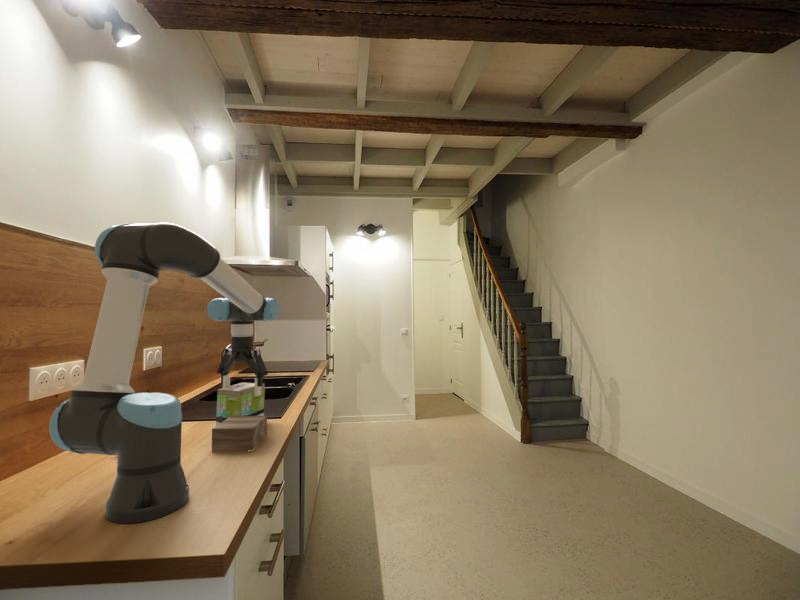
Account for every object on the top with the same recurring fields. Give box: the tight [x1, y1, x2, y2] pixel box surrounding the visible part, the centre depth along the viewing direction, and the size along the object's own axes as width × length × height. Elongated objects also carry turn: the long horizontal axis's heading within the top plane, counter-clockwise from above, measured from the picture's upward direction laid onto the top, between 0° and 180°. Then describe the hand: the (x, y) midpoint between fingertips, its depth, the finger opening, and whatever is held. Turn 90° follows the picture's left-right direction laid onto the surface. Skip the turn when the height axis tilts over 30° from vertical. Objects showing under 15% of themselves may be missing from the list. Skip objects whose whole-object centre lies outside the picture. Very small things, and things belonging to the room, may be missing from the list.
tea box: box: [215, 382, 266, 426], centre depth 143 cm, size 15×10×15 cm, turn 168°
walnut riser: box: [211, 415, 268, 452], centre depth 125 cm, size 14×12×7 cm
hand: (242, 394), depth 143 cm, fingers open, 13 cm apart
